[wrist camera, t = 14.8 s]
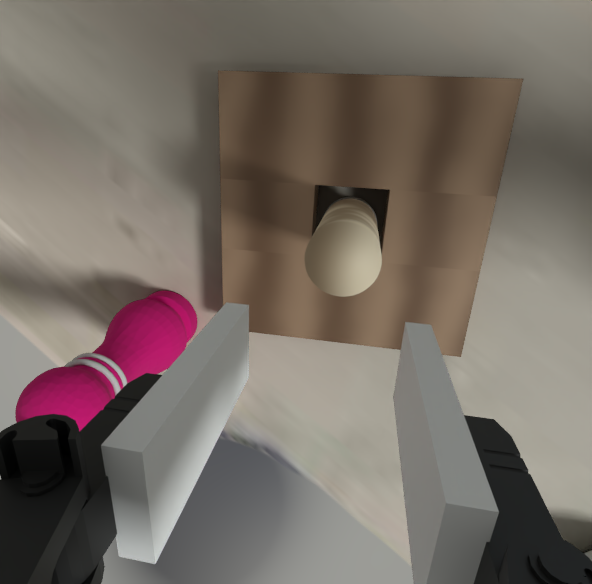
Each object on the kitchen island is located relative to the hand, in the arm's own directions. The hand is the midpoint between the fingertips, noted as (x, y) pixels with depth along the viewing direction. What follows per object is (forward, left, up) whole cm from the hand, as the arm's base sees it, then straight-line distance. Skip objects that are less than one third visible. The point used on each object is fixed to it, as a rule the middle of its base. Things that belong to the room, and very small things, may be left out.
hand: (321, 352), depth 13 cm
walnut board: (0, 0, -25) cm, 25 cm away
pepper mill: (+18, +12, -25) cm, 33 cm away
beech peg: (0, 0, -25) cm, 25 cm away
